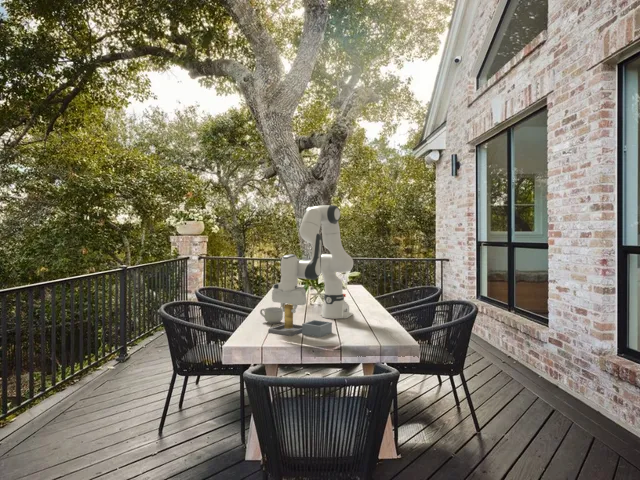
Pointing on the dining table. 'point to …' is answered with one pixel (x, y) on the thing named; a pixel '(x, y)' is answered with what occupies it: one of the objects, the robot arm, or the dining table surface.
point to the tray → (286, 330)
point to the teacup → (272, 314)
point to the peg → (288, 316)
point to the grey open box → (317, 328)
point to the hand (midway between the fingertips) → (288, 312)
